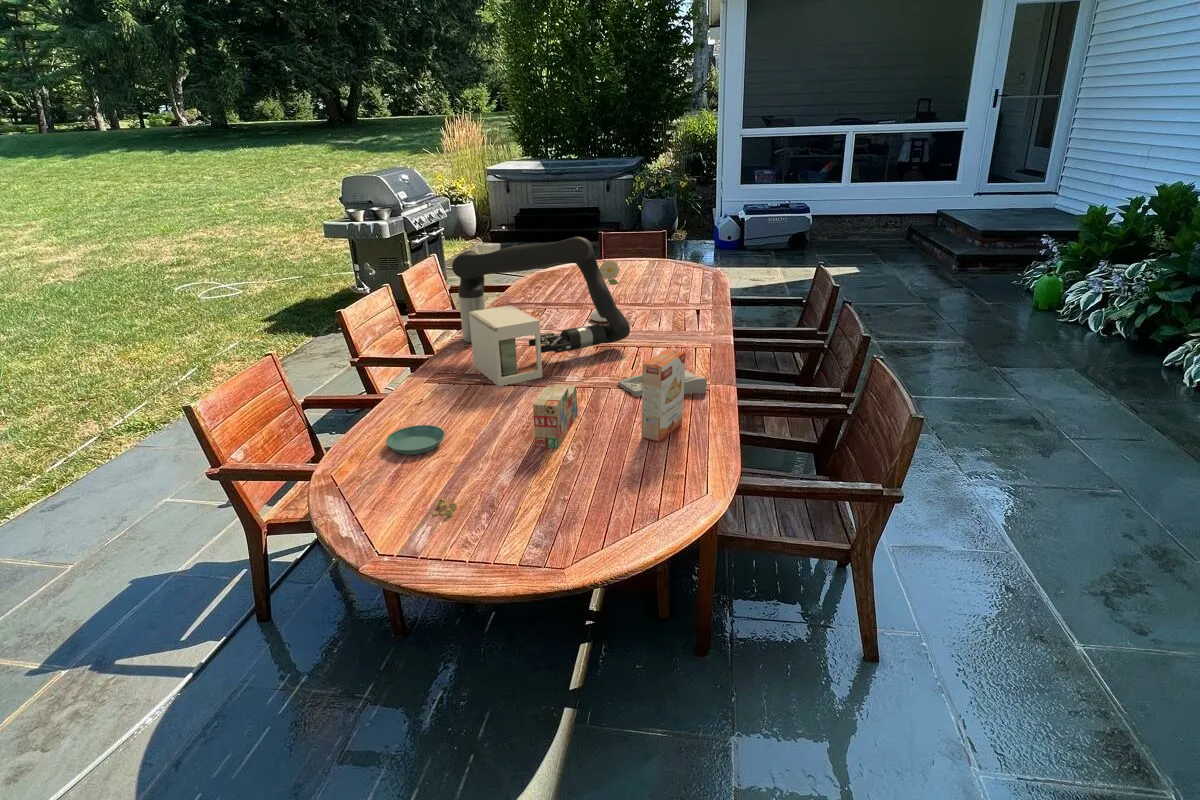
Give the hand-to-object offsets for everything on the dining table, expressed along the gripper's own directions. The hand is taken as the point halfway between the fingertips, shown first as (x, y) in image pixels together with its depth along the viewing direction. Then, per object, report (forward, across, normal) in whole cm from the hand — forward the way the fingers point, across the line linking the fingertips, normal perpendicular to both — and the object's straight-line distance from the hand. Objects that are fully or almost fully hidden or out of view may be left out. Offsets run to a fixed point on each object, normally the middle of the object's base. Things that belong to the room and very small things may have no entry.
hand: (534, 346), depth 226 cm
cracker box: (-7, +65, +7) cm, 66 cm away
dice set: (+55, +73, +8) cm, 92 cm away
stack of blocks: (+17, +50, +7) cm, 53 cm away
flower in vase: (-48, -35, +7) cm, 60 cm away
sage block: (+10, 0, +7) cm, 12 cm away
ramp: (-24, +40, +8) cm, 47 cm away
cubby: (+10, 0, +7) cm, 12 cm away
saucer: (+52, +38, +8) cm, 65 cm away
